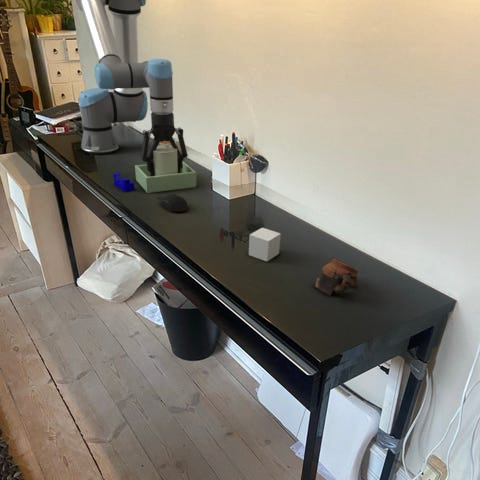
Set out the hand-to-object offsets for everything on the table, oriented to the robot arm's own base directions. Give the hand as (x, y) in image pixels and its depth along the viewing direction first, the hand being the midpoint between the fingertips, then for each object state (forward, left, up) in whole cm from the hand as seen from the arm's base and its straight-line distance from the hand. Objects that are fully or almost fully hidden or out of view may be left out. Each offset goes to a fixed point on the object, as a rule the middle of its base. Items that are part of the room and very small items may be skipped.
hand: (165, 178), depth 175 cm
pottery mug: (+86, +15, -2) cm, 87 cm away
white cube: (+63, +7, -2) cm, 63 cm away
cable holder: (-1, -15, -2) cm, 15 cm away
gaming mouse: (+21, -5, -2) cm, 21 cm away
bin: (0, 0, -2) cm, 2 cm away
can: (0, 0, -1) cm, 1 cm away
